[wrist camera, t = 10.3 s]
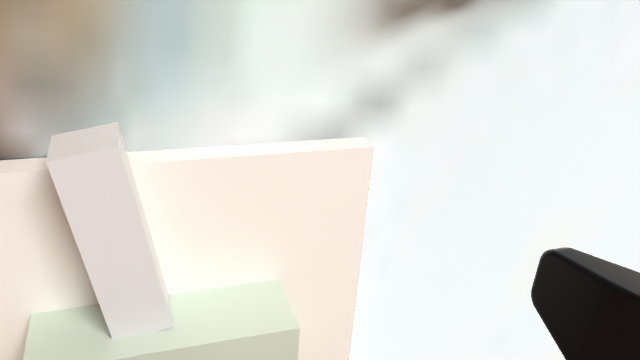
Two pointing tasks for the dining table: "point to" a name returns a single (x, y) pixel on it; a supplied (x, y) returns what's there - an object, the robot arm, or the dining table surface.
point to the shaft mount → (181, 250)
